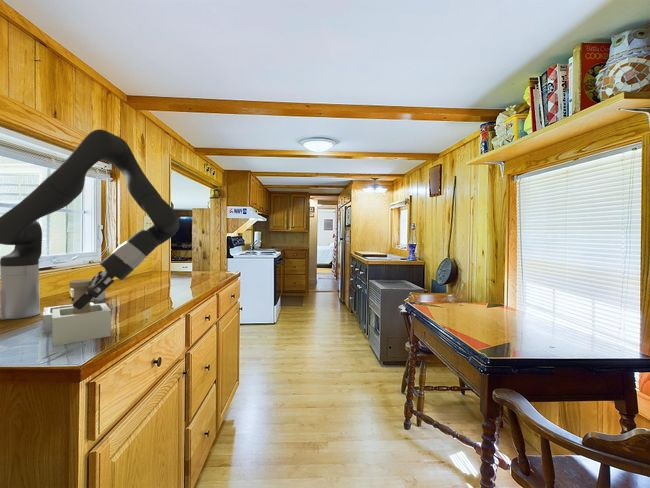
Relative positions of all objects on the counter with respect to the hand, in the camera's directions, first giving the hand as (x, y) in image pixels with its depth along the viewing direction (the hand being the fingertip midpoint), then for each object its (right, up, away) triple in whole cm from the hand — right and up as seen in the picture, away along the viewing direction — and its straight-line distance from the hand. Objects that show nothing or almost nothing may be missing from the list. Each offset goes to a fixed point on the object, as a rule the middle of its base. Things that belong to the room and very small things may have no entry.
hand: (74, 304), depth 84 cm
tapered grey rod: (-17, -8, +32) cm, 37 cm away
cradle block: (+1, -9, +1) cm, 9 cm away
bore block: (-10, -8, +11) cm, 17 cm away
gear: (-42, -7, +54) cm, 69 cm away
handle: (+1, -9, +1) cm, 9 cm away
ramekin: (-32, -7, +47) cm, 57 cm away
